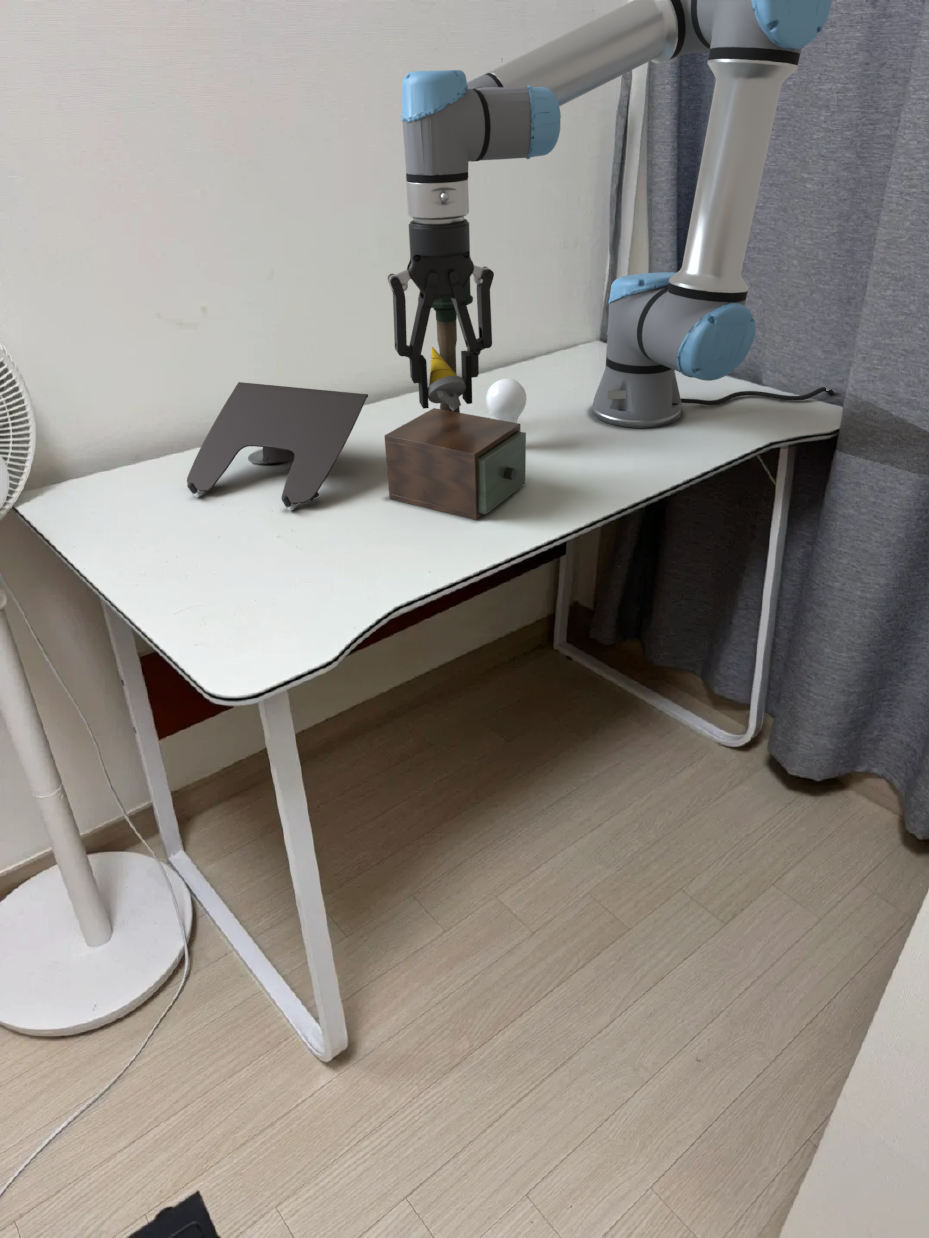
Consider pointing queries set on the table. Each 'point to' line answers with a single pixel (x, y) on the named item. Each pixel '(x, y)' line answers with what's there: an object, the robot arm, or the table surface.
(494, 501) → the drawer
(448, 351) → the stick grenade
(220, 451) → the laptop tray
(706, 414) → the table surface
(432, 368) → the drill bit
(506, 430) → the cabinet
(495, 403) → the lightbulb
